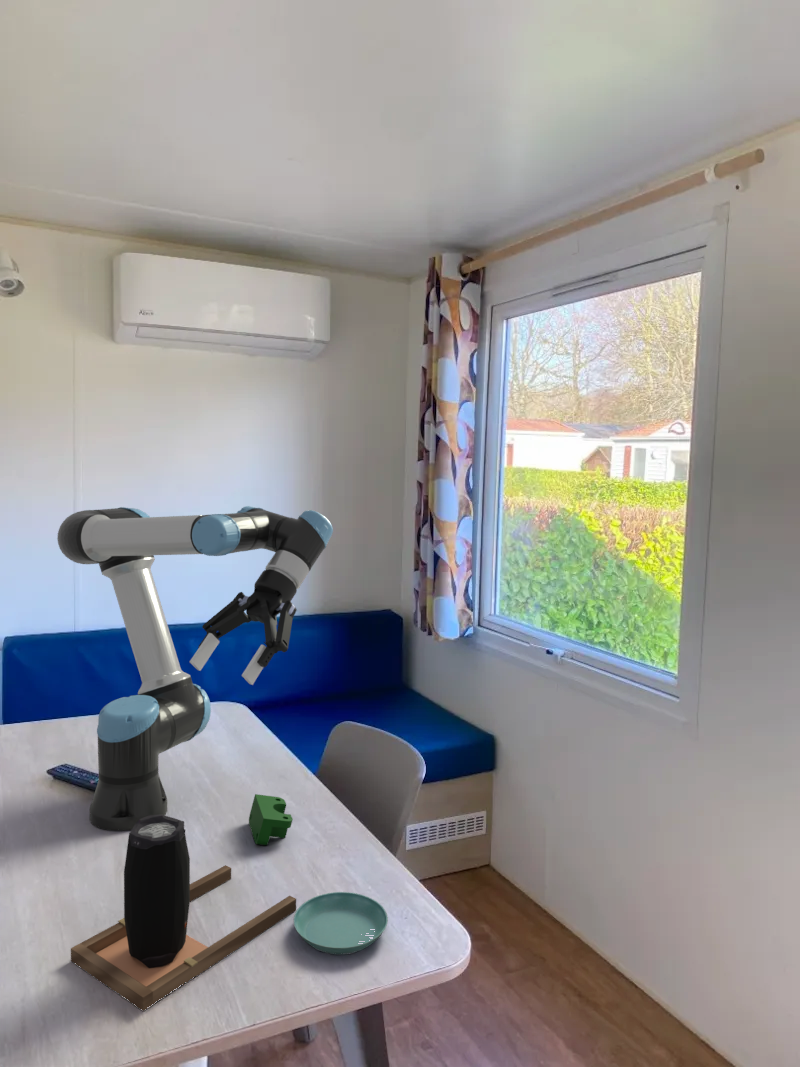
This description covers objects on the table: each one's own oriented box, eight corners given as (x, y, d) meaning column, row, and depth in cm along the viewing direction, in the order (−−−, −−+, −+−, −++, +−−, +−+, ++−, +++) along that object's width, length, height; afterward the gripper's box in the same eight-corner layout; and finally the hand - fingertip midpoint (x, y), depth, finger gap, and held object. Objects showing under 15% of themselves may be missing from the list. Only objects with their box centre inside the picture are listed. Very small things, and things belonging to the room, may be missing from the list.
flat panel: (95, 955, 114) (95, 953, 114) (157, 920, 123) (157, 918, 123) (154, 994, 106) (154, 992, 106) (216, 954, 115) (216, 952, 115)
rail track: (70, 960, 113) (70, 946, 112) (224, 875, 137) (224, 863, 136) (144, 1012, 103) (143, 996, 102) (296, 910, 127) (296, 897, 126)
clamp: (280, 862, 150) (294, 829, 147) (250, 859, 148) (264, 825, 145) (276, 813, 161) (290, 782, 157) (248, 810, 159) (261, 778, 155)
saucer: (308, 973, 112) (308, 956, 111) (282, 917, 125) (283, 902, 125) (402, 950, 117) (402, 934, 117) (367, 899, 131) (368, 884, 131)
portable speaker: (201, 944, 117) (201, 820, 115) (154, 979, 109) (154, 847, 107) (159, 926, 121) (159, 806, 119) (111, 959, 113) (110, 831, 111)
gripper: (339, 600, 143) (281, 698, 132) (245, 584, 157) (186, 672, 146) (321, 574, 138) (259, 674, 127) (225, 561, 152) (162, 649, 141)
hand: (220, 673), depth 137 cm, fingers open, 13 cm apart
